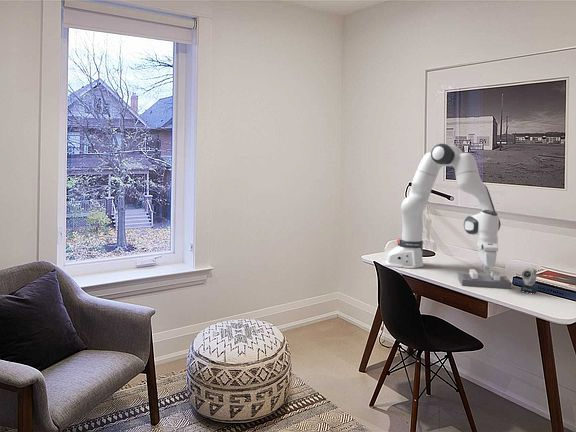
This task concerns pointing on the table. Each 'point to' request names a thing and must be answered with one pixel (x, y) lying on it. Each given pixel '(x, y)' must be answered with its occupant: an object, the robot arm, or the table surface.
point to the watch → (529, 281)
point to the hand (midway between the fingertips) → (485, 272)
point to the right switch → (495, 275)
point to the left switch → (473, 274)
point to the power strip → (484, 281)
